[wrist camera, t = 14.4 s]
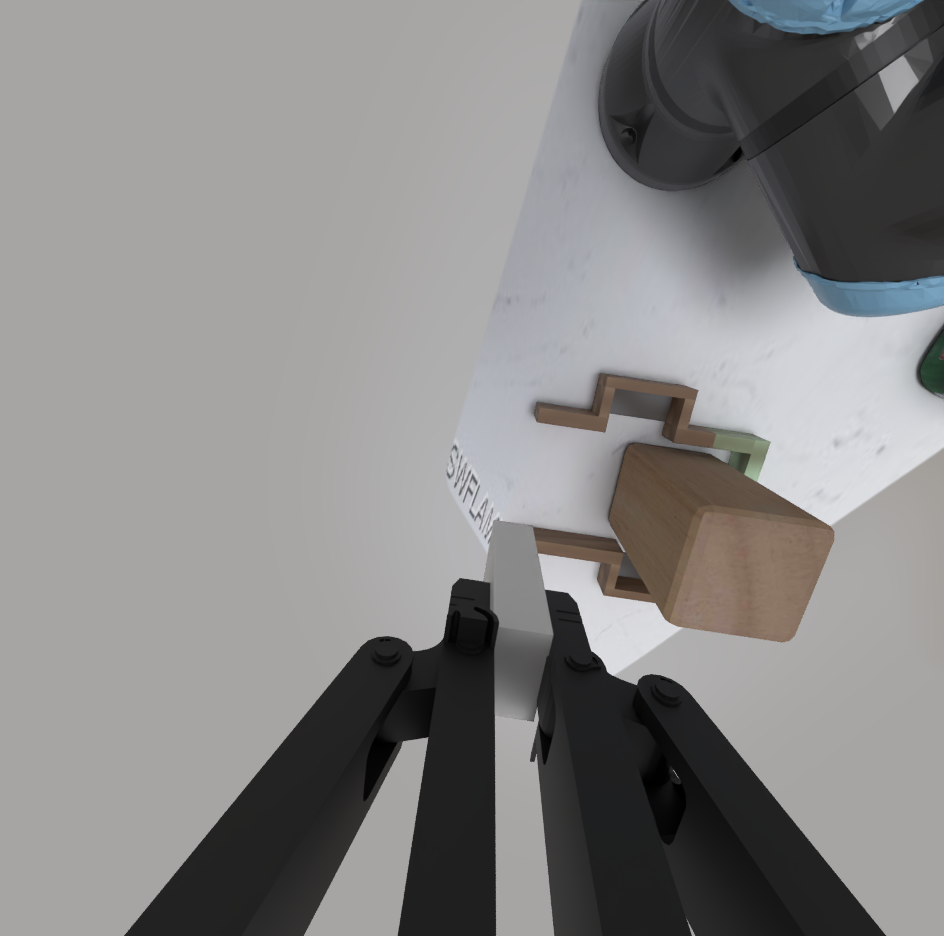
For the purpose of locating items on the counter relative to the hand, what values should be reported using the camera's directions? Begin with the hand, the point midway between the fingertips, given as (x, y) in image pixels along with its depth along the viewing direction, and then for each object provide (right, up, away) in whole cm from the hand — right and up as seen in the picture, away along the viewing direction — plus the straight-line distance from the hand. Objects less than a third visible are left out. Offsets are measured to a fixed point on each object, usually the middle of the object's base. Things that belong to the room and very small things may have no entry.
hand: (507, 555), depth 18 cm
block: (+20, +1, +35) cm, 40 cm away
